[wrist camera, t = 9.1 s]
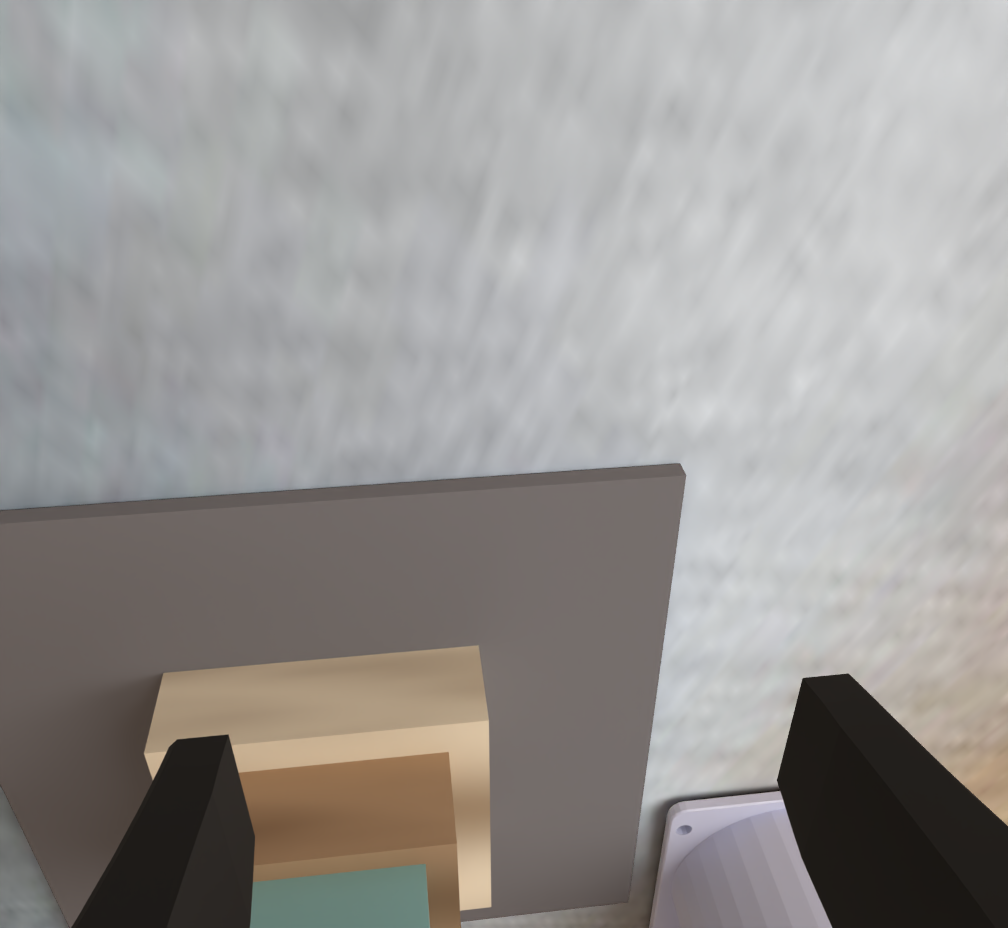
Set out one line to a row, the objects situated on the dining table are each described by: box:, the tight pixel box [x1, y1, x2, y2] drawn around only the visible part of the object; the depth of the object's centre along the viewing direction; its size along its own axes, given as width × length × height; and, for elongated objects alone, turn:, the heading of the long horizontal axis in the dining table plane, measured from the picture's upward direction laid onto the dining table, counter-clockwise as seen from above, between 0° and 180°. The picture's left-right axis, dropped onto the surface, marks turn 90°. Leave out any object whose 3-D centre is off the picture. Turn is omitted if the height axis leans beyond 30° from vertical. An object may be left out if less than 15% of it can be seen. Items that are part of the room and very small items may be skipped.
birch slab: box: [144, 645, 491, 911], centre depth 25 cm, size 8×8×2 cm
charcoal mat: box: [0, 464, 686, 928], centre depth 26 cm, size 18×18×1 cm
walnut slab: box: [239, 752, 461, 928], centre depth 23 cm, size 6×6×2 cm
